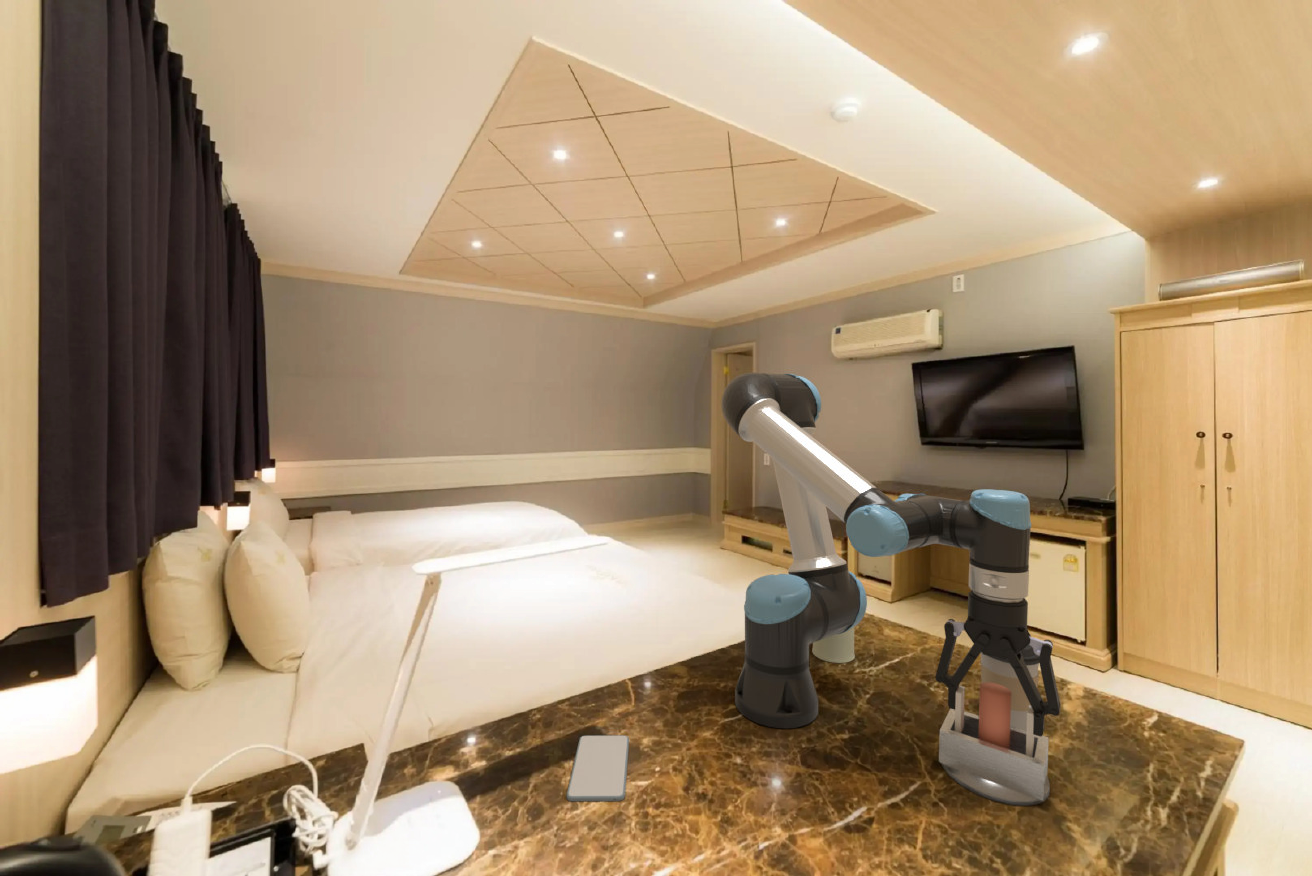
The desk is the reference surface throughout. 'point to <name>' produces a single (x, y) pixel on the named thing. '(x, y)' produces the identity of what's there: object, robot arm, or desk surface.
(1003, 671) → the coffee cup
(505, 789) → the desk surface
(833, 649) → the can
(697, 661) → the desk surface
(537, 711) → the desk surface
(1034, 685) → the robot arm
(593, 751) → the smartphone
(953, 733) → the rosette bracket
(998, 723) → the pin
